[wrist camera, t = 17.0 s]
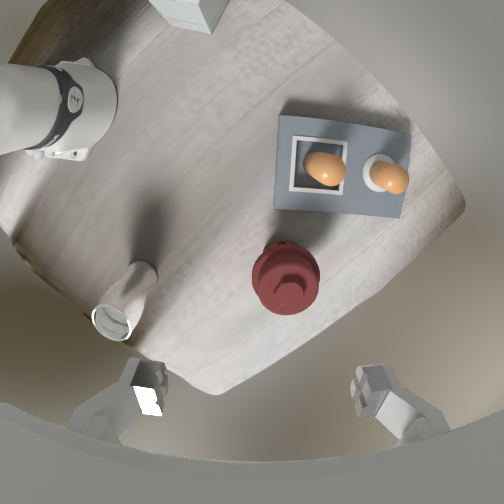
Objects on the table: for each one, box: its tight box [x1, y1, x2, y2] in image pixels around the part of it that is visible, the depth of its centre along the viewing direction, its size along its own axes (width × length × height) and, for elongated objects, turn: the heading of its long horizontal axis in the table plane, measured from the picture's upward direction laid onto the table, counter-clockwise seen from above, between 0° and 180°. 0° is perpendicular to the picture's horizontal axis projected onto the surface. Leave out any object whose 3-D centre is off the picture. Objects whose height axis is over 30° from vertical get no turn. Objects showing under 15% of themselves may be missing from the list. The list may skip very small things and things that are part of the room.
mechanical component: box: [252, 241, 320, 315], centre depth 44 cm, size 12×10×10 cm
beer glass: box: [92, 261, 157, 341], centre depth 45 cm, size 7×7×15 cm
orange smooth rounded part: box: [303, 151, 346, 186], centre depth 38 cm, size 4×4×9 cm
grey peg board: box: [273, 115, 411, 218], centre depth 39 cm, size 21×14×9 cm, turn 88°
